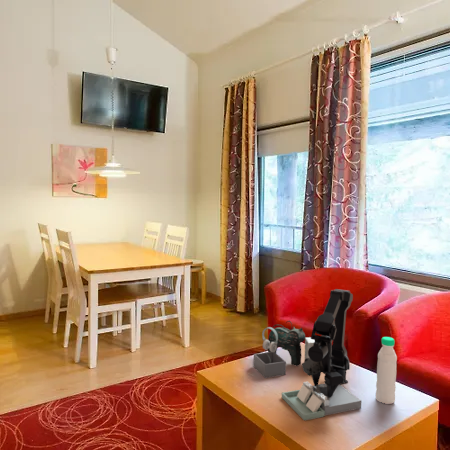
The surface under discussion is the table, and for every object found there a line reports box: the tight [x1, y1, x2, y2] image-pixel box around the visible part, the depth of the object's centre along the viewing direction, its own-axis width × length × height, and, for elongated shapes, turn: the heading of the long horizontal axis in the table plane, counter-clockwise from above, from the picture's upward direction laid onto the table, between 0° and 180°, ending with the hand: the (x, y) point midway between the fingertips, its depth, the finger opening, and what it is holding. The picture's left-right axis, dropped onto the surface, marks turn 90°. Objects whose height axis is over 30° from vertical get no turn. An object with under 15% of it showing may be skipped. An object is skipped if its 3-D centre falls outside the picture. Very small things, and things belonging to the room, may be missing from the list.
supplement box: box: [304, 337, 315, 360], centre depth 188 cm, size 7×7×13 cm
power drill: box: [267, 320, 306, 367], centre depth 194 cm, size 20×6×20 cm, turn 43°
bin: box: [281, 389, 326, 421], centre depth 153 cm, size 8×17×2 cm, turn 20°
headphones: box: [261, 326, 278, 364], centre depth 182 cm, size 8×4×20 cm, turn 46°
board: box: [309, 384, 362, 416], centre depth 157 cm, size 16×16×3 cm
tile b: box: [306, 394, 322, 412], centre depth 150 cm, size 5×5×1 cm
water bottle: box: [375, 336, 398, 405], centre depth 157 cm, size 7×7×25 cm
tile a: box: [297, 384, 311, 403], centre depth 157 cm, size 5×5×1 cm
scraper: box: [302, 380, 329, 407], centre depth 155 cm, size 8×15×4 cm, turn 20°
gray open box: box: [253, 351, 287, 379], centre depth 183 cm, size 10×12×6 cm
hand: (322, 391), depth 155 cm, fingers open, 9 cm apart
